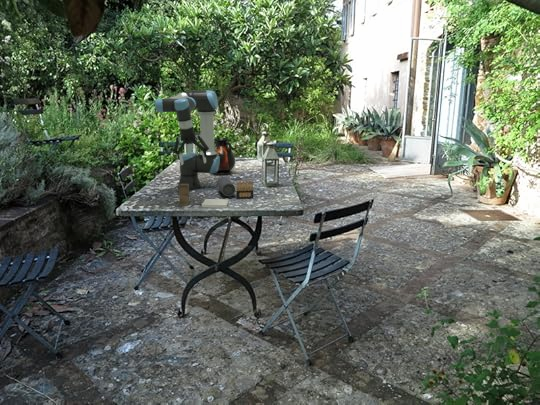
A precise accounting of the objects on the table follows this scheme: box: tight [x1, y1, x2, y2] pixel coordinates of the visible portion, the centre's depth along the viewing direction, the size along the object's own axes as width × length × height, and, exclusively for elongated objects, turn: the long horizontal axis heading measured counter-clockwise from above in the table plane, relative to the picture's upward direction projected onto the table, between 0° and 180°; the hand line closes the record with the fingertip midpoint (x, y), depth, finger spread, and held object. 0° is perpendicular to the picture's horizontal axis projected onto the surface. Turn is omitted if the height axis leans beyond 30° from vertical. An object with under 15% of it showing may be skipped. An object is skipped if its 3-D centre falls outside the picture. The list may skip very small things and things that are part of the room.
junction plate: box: [201, 198, 230, 209], centre depth 266 cm, size 14×14×2 cm
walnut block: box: [178, 184, 190, 207], centre depth 264 cm, size 4×5×12 cm
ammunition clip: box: [235, 179, 255, 200], centre depth 280 cm, size 11×2×12 cm, turn 100°
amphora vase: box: [211, 137, 236, 176], centre depth 359 cm, size 22×22×28 cm
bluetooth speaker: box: [216, 176, 236, 197], centre depth 291 cm, size 23×9×10 cm, turn 15°
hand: (193, 163), depth 260 cm, fingers open, 13 cm apart
